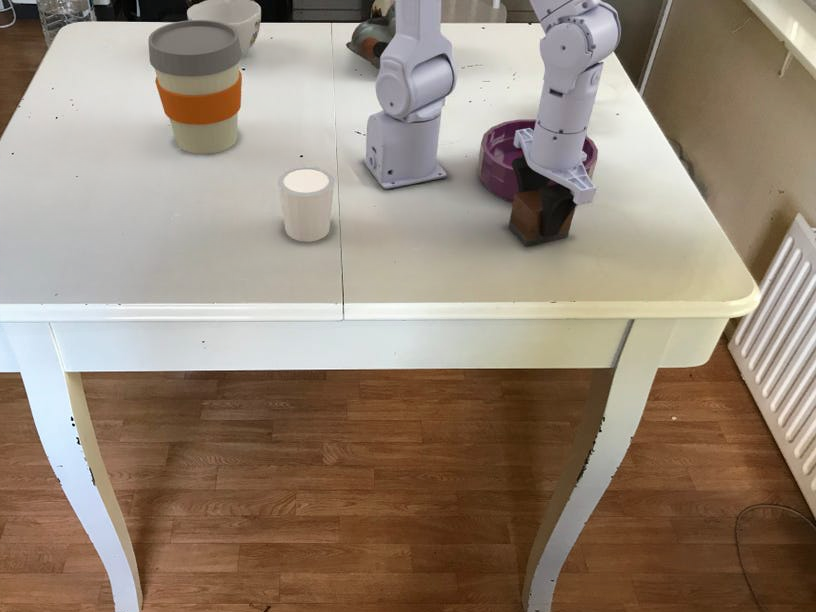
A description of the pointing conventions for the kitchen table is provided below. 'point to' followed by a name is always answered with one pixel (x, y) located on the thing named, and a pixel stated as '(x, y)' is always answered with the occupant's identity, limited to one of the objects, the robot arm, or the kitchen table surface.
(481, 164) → the bowl
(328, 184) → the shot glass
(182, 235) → the kitchen table surface
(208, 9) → the teacup
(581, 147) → the robot arm
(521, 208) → the eraser
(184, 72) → the reusable coffee cup
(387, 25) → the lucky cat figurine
